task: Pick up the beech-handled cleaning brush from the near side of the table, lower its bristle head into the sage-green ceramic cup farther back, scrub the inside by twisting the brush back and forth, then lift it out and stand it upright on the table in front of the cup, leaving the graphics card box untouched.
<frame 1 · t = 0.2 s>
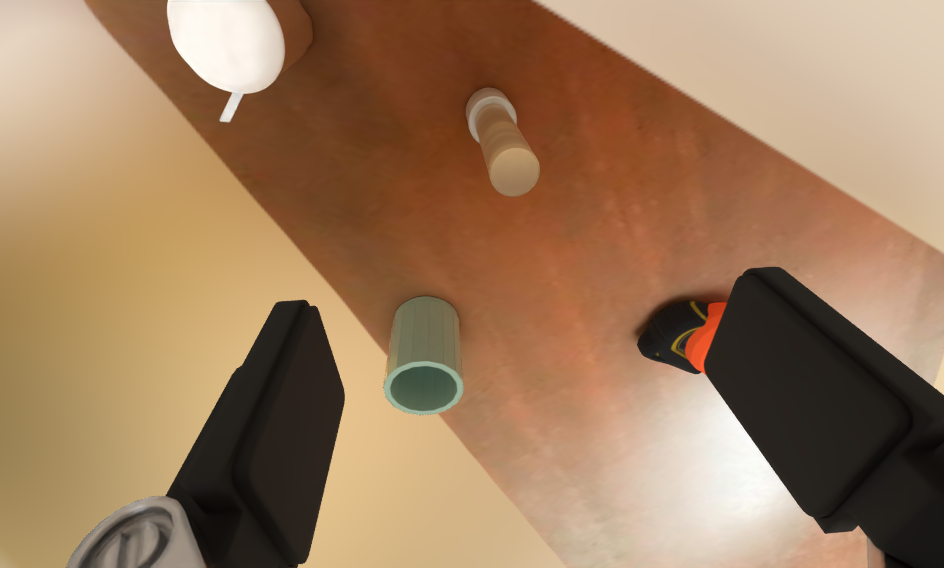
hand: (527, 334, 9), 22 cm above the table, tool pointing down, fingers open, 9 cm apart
clementine: (706, 316, 40), on the table, touching tape measure
cup: (426, 322, 38), on the table
tape measure: (673, 326, 40), on the table, touching clementine
milkshake: (287, 33, 25), on the table
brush: (487, 111, 28), on the table
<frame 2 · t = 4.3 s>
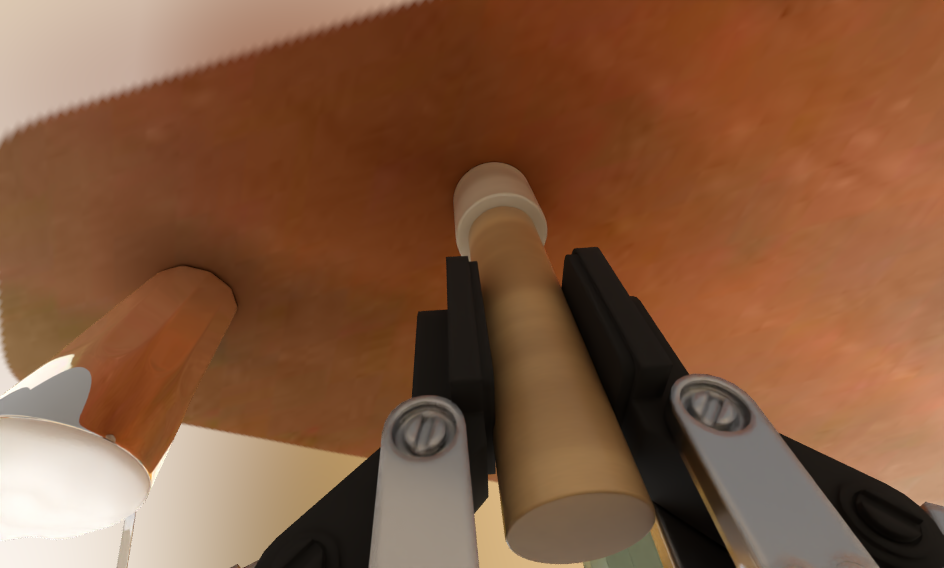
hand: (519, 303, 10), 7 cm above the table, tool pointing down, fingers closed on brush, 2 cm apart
cup: (604, 453, 26), on the table
milkshake: (207, 300, 18), on the table
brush: (492, 200, 16), on the table, touching gripper
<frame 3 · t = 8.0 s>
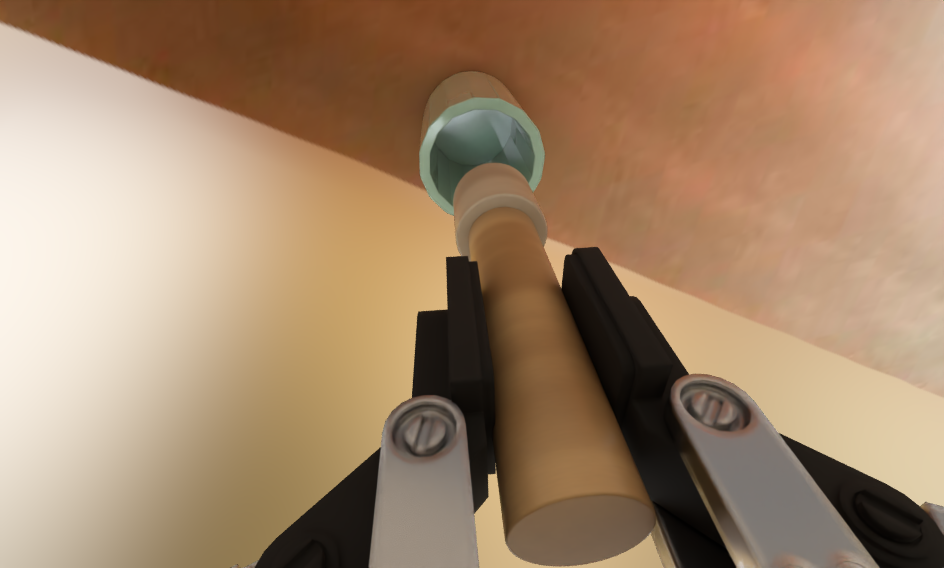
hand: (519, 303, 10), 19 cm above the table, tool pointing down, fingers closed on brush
cup: (471, 123, 26), on the table
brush: (492, 200, 16), point 13 cm above the table, touching gripper
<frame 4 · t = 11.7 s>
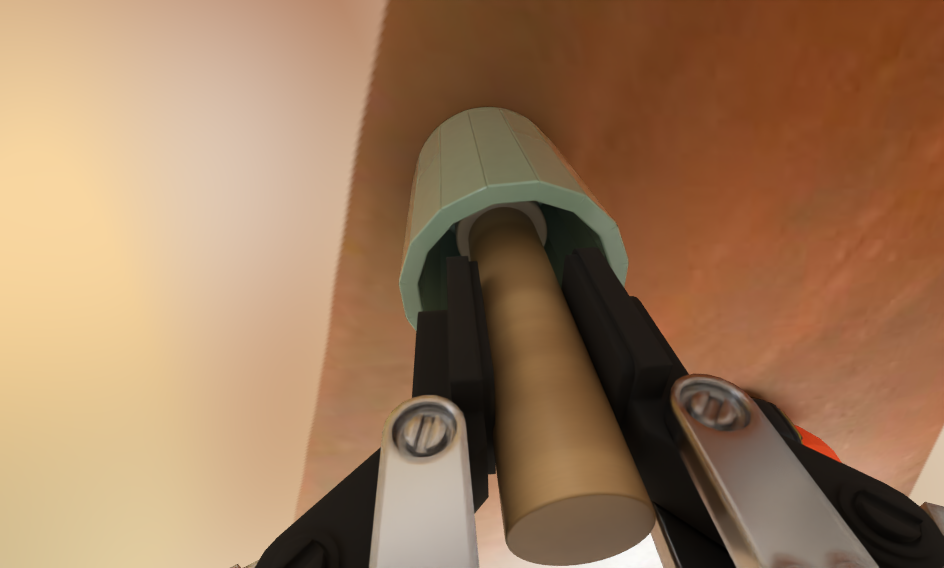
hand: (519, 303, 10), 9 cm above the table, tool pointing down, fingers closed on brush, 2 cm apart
clementine: (743, 432, 30), on the table, touching tape measure
cup: (486, 181, 17), on the table
tape measure: (709, 423, 29), on the table, touching clementine
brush: (492, 200, 16), point 2 cm above the table, touching gripper
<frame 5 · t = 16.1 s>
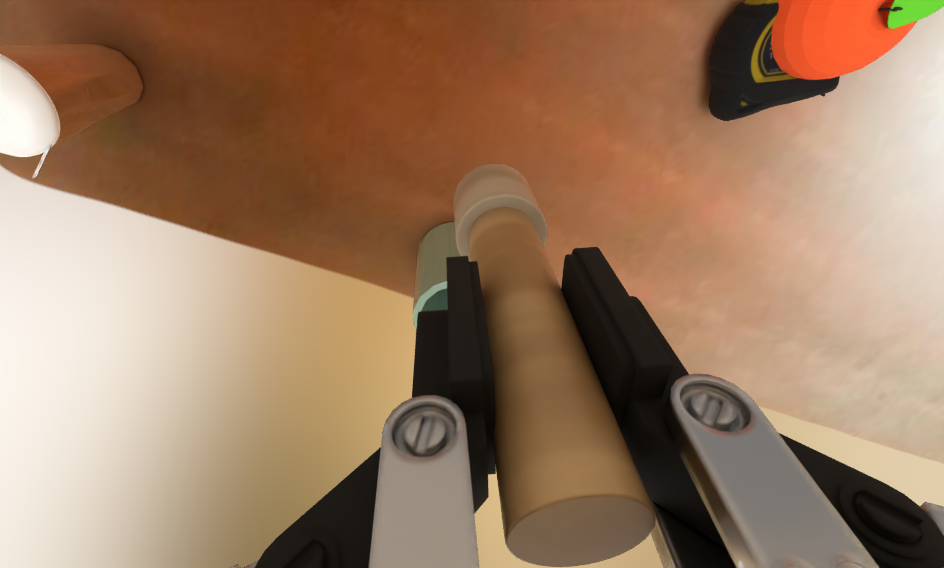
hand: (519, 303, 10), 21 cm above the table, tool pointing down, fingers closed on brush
clementine: (798, 4, 25), on the table, touching tape measure
cup: (455, 254, 33), on the table
tape measure: (755, 56, 27), on the table, touching clementine
milkshake: (122, 81, 25), on the table
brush: (492, 201, 16), point 14 cm above the table, touching gripper
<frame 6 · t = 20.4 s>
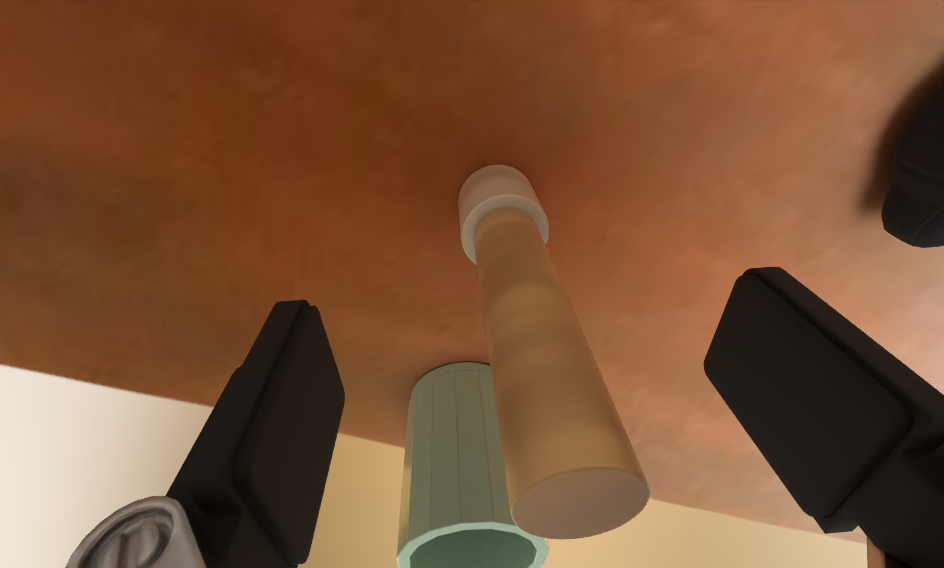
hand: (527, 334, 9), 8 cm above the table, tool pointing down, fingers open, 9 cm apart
cup: (464, 400, 23), on the table
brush: (495, 200, 16), on the table
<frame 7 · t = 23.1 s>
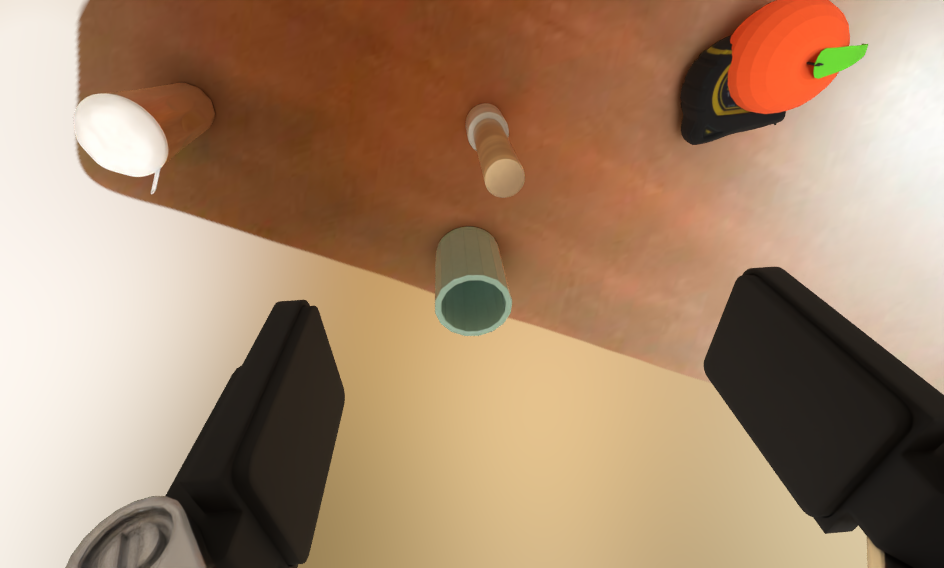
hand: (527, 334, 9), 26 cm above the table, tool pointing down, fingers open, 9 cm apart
clementine: (753, 50, 30), on the table, touching tape measure
cup: (467, 254, 39), on the table
tape measure: (720, 91, 32), on the table, touching clementine
milkshake: (197, 111, 30), on the table
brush: (484, 123, 32), on the table
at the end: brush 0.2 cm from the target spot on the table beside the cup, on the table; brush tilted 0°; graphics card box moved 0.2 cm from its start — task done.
